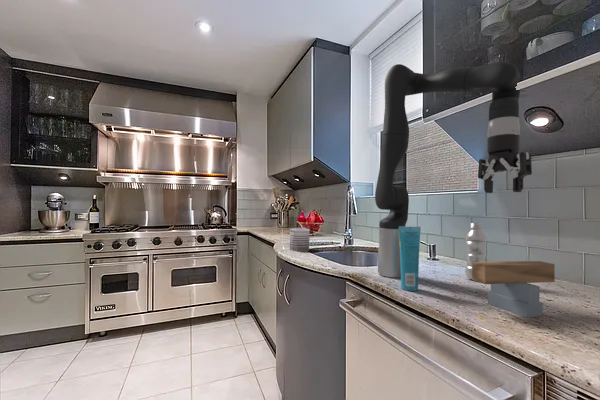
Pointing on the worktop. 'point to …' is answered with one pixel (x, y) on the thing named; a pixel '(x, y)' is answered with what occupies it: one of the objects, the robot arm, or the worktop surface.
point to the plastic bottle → (475, 247)
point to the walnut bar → (513, 272)
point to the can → (299, 239)
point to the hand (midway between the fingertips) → (502, 192)
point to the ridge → (517, 298)
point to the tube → (409, 256)
